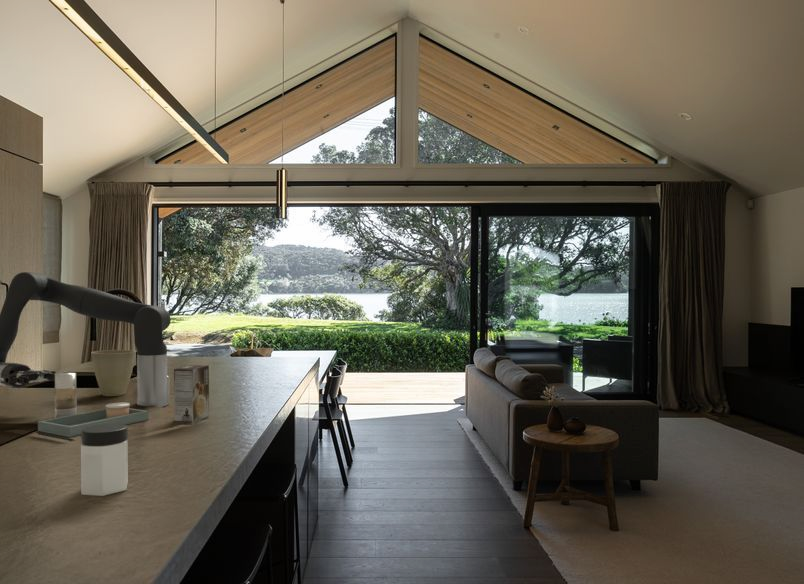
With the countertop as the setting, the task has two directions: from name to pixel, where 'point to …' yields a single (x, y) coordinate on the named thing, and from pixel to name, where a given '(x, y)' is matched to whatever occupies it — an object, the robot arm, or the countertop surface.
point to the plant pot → (113, 370)
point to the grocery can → (65, 394)
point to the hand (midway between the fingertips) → (42, 379)
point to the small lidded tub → (117, 409)
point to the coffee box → (191, 393)
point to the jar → (104, 459)
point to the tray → (86, 422)
